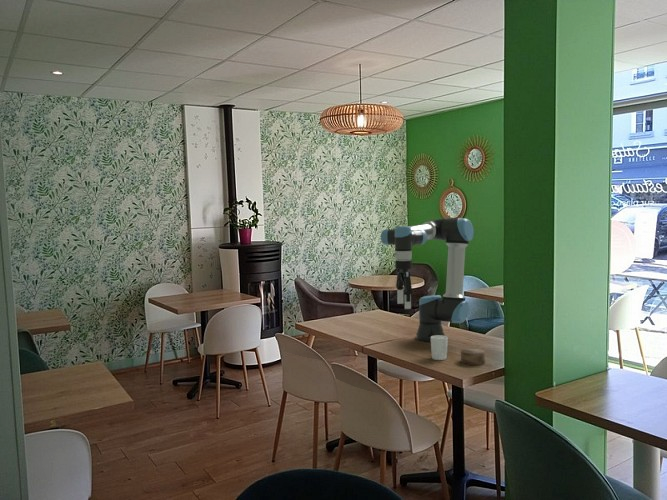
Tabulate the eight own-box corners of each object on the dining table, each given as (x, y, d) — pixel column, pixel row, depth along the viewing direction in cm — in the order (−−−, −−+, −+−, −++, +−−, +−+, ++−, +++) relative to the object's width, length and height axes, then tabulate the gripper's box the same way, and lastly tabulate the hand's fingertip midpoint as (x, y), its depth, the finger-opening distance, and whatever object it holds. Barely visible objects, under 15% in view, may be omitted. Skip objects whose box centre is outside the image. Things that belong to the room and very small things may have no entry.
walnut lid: (471, 357, 258) (471, 347, 258) (489, 362, 250) (489, 351, 249) (456, 361, 252) (456, 351, 252) (474, 366, 244) (474, 355, 243)
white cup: (450, 357, 260) (450, 336, 259) (444, 361, 253) (444, 339, 252) (434, 355, 264) (434, 334, 263) (428, 359, 257) (428, 338, 256)
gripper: (389, 257, 264) (390, 301, 266) (402, 263, 239) (402, 311, 241) (404, 257, 265) (405, 301, 267) (418, 262, 240) (419, 310, 242)
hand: (404, 306), depth 254 cm, fingers open, 13 cm apart
